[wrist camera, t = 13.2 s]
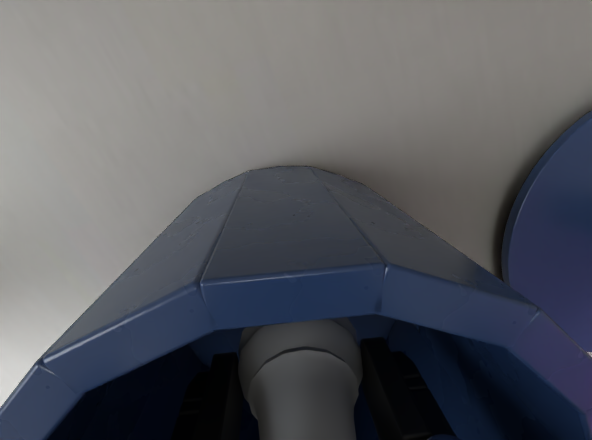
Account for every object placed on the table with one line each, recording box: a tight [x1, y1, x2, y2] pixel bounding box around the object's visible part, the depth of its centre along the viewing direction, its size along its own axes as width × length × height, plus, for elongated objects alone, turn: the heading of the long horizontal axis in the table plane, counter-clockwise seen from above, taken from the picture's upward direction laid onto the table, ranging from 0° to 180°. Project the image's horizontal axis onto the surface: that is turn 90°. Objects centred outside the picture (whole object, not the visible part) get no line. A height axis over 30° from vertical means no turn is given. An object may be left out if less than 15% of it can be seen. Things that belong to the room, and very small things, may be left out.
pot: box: [0, 166, 592, 440], centre depth 11 cm, size 13×13×10 cm
